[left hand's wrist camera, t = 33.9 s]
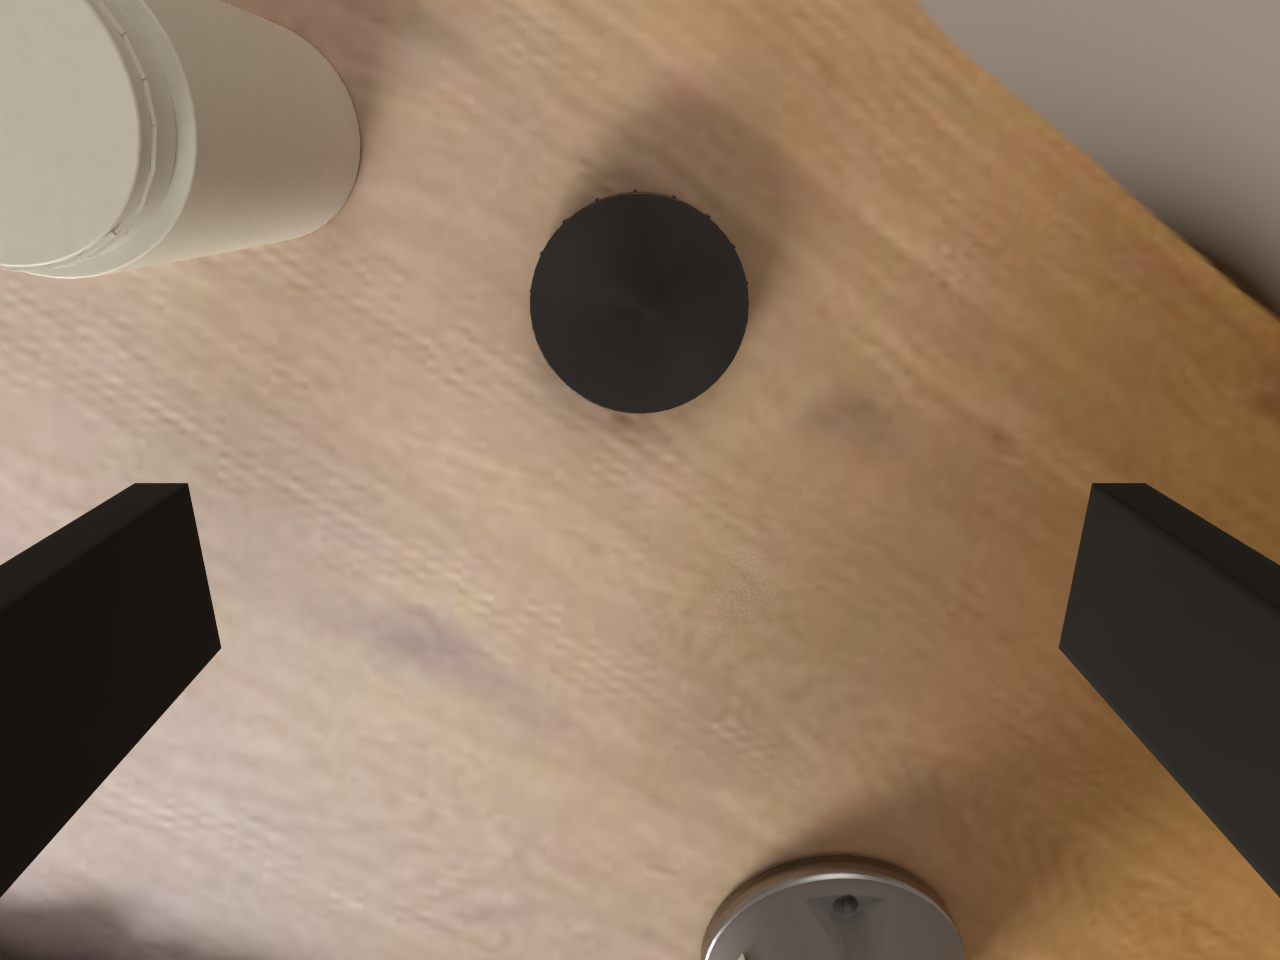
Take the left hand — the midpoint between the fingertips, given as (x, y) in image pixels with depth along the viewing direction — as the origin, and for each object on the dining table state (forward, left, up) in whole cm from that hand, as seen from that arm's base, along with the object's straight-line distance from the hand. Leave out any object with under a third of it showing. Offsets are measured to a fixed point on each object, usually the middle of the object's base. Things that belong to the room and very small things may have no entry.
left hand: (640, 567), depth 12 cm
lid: (0, 0, -24) cm, 24 cm away
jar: (+16, +6, -26) cm, 31 cm away
